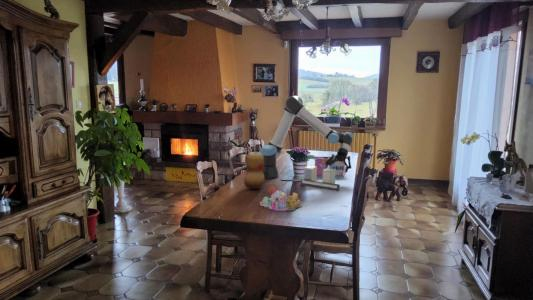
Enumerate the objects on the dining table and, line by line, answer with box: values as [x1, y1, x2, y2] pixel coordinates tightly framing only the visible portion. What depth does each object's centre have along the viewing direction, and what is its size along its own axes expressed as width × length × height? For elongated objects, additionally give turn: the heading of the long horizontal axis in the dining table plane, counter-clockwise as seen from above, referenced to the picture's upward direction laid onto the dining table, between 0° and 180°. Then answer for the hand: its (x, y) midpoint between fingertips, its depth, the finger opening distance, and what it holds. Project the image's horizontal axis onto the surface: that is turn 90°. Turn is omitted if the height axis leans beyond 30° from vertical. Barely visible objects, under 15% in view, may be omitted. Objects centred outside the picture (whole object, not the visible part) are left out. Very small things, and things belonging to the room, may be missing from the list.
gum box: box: [314, 156, 347, 176], centre depth 296 cm, size 24×8×14 cm, turn 92°
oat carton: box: [303, 165, 318, 181], centre depth 267 cm, size 8×6×12 cm
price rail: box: [300, 178, 341, 192], centre depth 257 cm, size 28×2×4 cm, turn 58°
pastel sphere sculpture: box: [259, 186, 303, 212], centre depth 218 cm, size 25×24×9 cm
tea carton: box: [321, 168, 336, 184], centre depth 260 cm, size 8×6×12 cm
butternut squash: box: [243, 151, 265, 190], centre depth 250 cm, size 14×13×25 cm
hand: (334, 174), depth 268 cm, fingers open, 12 cm apart
